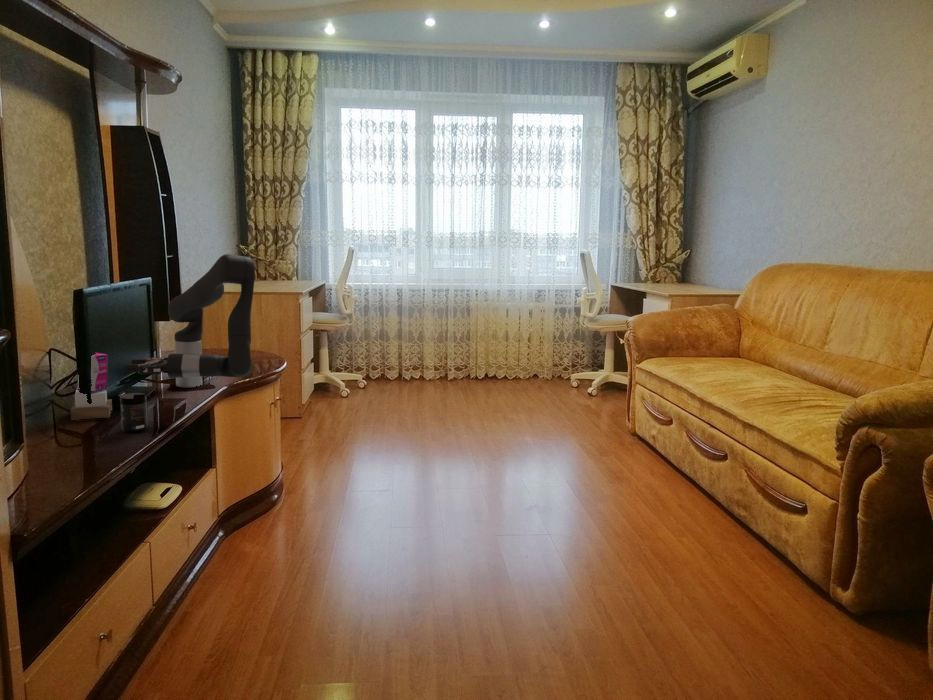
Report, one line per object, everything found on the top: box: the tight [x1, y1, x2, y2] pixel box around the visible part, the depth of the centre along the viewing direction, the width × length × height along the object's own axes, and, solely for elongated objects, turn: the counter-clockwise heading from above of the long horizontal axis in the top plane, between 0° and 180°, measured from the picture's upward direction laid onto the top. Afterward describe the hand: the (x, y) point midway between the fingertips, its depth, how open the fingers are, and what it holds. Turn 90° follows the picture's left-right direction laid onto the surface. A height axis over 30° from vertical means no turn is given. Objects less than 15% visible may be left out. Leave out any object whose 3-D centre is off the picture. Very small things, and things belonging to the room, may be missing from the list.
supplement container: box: [119, 392, 148, 434], centre depth 182 cm, size 7×7×10 cm
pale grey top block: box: [74, 389, 108, 408], centre depth 196 cm, size 8×8×4 cm
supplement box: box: [76, 352, 109, 393], centre depth 194 cm, size 6×6×12 cm
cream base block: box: [70, 398, 113, 420], centre depth 196 cm, size 10×10×4 cm
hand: (128, 365), depth 194 cm, fingers open, 8 cm apart
